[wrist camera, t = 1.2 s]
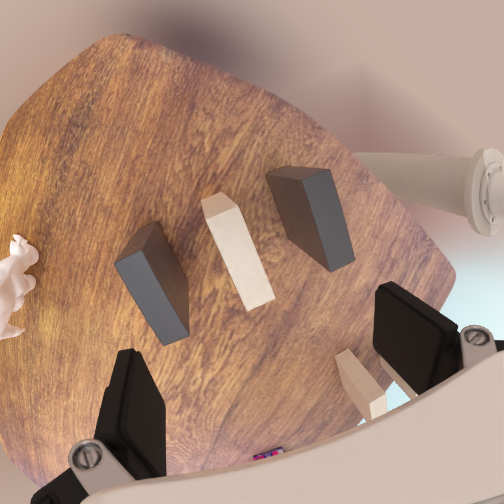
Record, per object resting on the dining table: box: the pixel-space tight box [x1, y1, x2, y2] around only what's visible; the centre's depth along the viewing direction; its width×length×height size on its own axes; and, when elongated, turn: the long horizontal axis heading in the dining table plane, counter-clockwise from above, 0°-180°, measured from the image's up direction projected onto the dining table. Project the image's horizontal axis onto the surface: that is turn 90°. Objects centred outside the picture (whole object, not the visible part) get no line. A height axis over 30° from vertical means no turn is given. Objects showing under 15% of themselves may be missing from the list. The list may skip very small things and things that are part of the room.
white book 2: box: [334, 349, 387, 422], centre depth 37 cm, size 2×8×11 cm, turn 20°
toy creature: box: [0, 235, 39, 340], centre depth 22 cm, size 12×6×12 cm, turn 156°
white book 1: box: [200, 191, 276, 311], centre depth 27 cm, size 2×8×11 cm, turn 20°
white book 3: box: [379, 355, 418, 400], centre depth 38 cm, size 2×8×11 cm, turn 20°
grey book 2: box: [114, 221, 190, 346], centre depth 26 cm, size 2×8×11 cm, turn 20°
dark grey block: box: [265, 166, 355, 272], centre depth 27 cm, size 2×8×11 cm, turn 20°
